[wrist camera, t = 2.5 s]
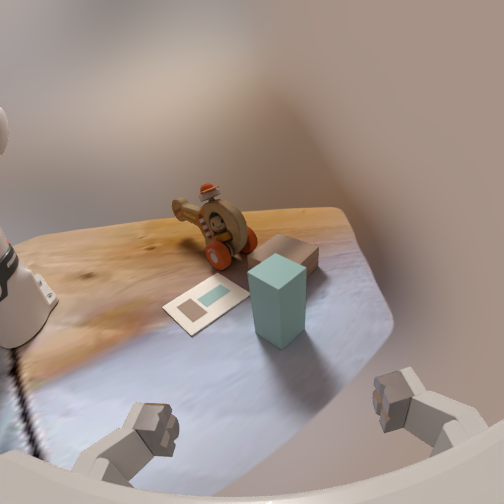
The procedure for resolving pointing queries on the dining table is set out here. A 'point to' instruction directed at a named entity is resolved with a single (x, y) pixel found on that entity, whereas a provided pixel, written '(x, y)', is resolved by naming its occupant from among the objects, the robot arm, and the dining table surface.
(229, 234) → the toy helicopter
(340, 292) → the dining table surface
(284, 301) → the teal tall block
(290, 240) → the walnut base block
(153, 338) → the dining table surface
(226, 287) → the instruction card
